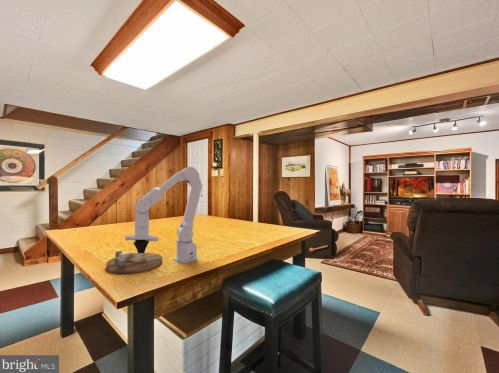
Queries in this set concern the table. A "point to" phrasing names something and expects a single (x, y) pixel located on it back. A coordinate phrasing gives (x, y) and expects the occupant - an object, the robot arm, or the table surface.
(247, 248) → the table surface
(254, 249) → the table surface
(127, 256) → the folding leg
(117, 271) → the stool seat
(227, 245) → the table surface
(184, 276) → the table surface
